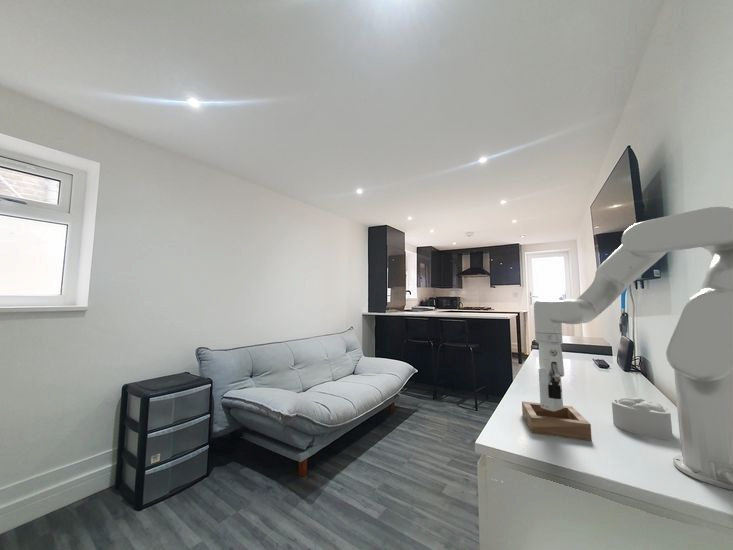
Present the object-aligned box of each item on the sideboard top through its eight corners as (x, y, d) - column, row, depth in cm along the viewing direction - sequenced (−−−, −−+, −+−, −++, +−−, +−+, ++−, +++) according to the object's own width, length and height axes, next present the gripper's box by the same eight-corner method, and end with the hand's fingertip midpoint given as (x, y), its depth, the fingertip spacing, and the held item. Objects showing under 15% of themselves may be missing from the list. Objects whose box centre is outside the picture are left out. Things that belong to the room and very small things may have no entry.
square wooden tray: (591, 440, 81) (590, 424, 82) (531, 432, 86) (531, 417, 87) (573, 420, 95) (572, 406, 96) (522, 414, 100) (521, 401, 101)
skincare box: (554, 412, 88) (552, 371, 89) (539, 407, 92) (537, 368, 93) (564, 408, 91) (562, 369, 92) (548, 404, 95) (547, 366, 96)
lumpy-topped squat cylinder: (675, 442, 81) (671, 410, 82) (614, 429, 89) (612, 400, 90) (667, 429, 89) (664, 400, 90) (612, 419, 97) (610, 392, 98)
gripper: (571, 342, 84) (574, 405, 82) (554, 335, 100) (556, 388, 99) (542, 340, 87) (544, 401, 85) (529, 334, 103) (531, 385, 101)
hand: (551, 394), depth 92 cm, fingers closed on skincare box, 7 cm apart
